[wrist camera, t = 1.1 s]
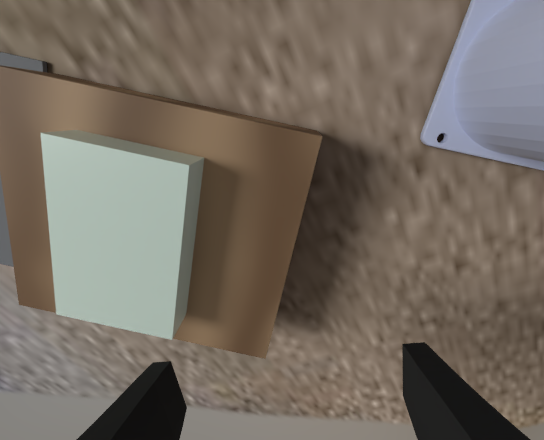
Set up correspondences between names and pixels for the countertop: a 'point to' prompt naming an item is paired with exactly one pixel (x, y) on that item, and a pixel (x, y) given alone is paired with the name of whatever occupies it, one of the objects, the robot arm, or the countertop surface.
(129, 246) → the pale green rectangular block
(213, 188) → the tan square board
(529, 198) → the countertop surface
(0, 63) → the mat
